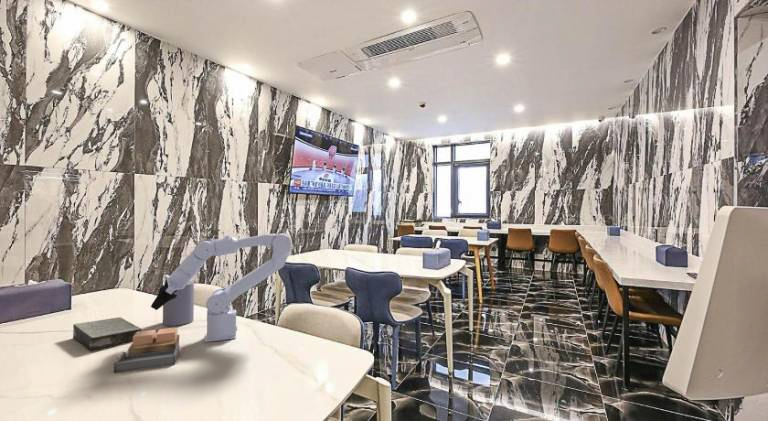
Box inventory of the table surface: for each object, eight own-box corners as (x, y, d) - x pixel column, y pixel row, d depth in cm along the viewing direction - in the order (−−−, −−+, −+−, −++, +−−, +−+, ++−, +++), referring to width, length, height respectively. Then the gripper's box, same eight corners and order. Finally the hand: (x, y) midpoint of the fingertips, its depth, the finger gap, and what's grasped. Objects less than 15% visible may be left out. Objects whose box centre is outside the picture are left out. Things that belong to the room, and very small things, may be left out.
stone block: (91, 353, 107) (91, 336, 107) (72, 339, 118) (72, 324, 118) (142, 340, 118) (142, 325, 118) (120, 328, 129) (120, 315, 129)
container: (196, 322, 135) (196, 284, 135) (165, 328, 129) (165, 287, 129) (190, 316, 143) (190, 279, 143) (160, 321, 137) (161, 283, 137)
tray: (179, 352, 107) (179, 345, 107) (174, 364, 99) (175, 355, 99) (123, 360, 102) (123, 351, 102) (113, 372, 94) (113, 363, 94)
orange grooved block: (179, 343, 114) (179, 334, 114) (175, 353, 107) (175, 343, 107) (135, 349, 110) (135, 339, 110) (127, 359, 102) (128, 348, 102)
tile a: (177, 335, 114) (177, 327, 114) (175, 340, 109) (175, 332, 109) (159, 337, 112) (159, 329, 112) (156, 342, 107) (156, 334, 107)
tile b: (155, 337, 112) (155, 329, 112) (152, 343, 107) (152, 334, 107) (136, 339, 110) (137, 331, 110) (132, 345, 105) (132, 336, 105)
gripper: (179, 259, 123) (151, 290, 121) (171, 269, 110) (139, 304, 107) (196, 271, 126) (169, 302, 123) (190, 282, 112) (160, 317, 110)
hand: (156, 304), depth 115 cm, fingers open, 7 cm apart
